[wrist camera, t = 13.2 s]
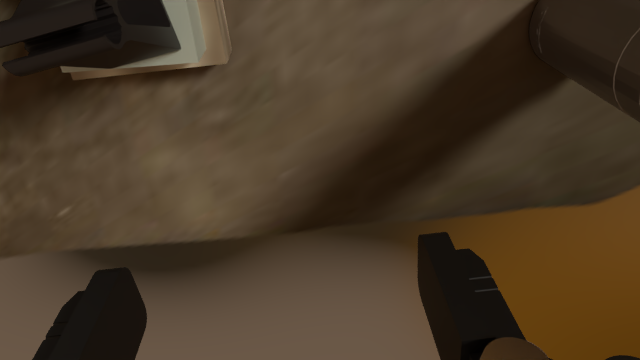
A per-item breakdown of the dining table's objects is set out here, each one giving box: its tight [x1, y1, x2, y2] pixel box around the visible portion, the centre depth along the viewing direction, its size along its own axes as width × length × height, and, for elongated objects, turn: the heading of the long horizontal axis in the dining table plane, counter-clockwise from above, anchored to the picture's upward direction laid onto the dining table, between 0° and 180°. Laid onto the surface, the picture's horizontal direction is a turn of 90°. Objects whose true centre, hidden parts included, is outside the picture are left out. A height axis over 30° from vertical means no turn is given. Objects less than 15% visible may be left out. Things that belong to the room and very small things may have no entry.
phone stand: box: [0, 0, 181, 76], centre depth 30 cm, size 9×6×12 cm, turn 14°
